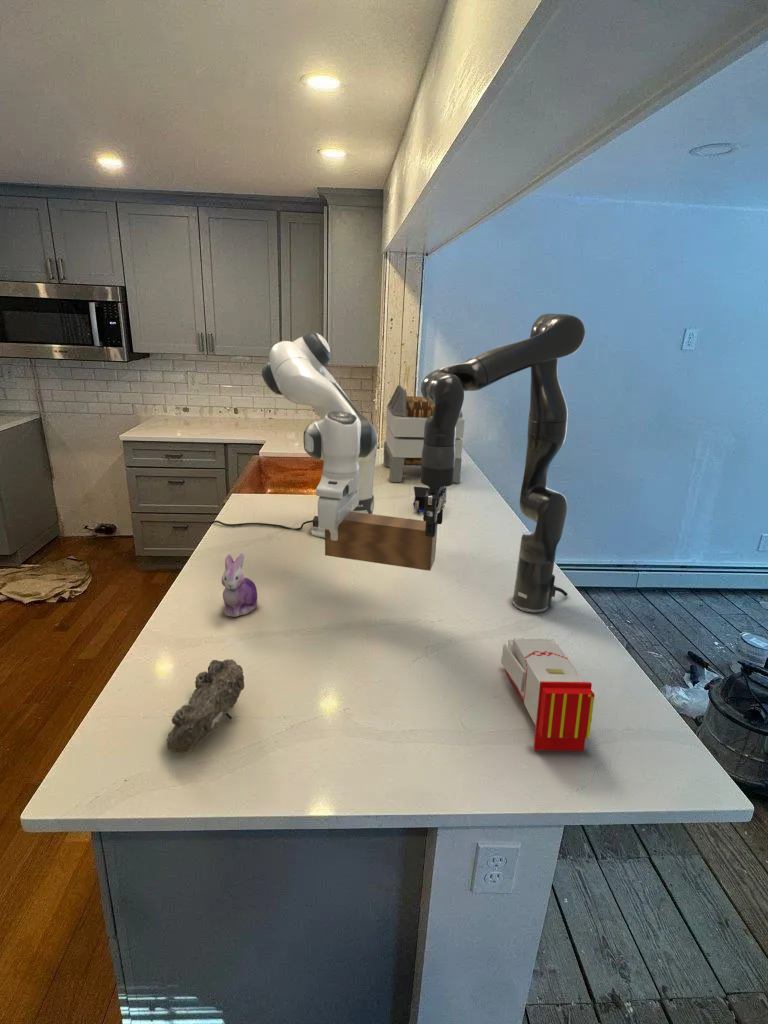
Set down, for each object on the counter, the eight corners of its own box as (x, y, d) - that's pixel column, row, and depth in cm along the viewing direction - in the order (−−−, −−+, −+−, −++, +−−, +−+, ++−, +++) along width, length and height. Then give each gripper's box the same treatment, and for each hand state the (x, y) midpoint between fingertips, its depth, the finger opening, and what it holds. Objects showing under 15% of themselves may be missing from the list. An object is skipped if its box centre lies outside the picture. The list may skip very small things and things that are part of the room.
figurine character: (431, 519, 219) (427, 502, 232) (432, 501, 216) (429, 485, 229) (413, 518, 219) (411, 501, 232) (415, 500, 215) (412, 484, 229)
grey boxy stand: (382, 463, 289) (386, 382, 275) (445, 464, 293) (451, 384, 279) (390, 482, 257) (394, 392, 243) (460, 483, 261) (468, 394, 247)
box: (324, 555, 141) (324, 517, 137) (333, 545, 146) (333, 509, 143) (430, 570, 134) (432, 531, 131) (435, 560, 140) (437, 522, 137)
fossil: (192, 660, 117) (244, 628, 112) (224, 691, 120) (276, 661, 115) (142, 746, 98) (202, 712, 93) (182, 779, 101) (242, 748, 96)
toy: (549, 621, 128) (604, 690, 99) (544, 676, 131) (595, 758, 101) (496, 620, 128) (535, 688, 98) (492, 675, 130) (528, 757, 101)
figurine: (226, 621, 140) (223, 566, 135) (217, 603, 148) (214, 550, 143) (264, 614, 144) (262, 560, 139) (253, 596, 153) (251, 545, 148)
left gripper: (342, 468, 147) (341, 518, 151) (312, 491, 128) (313, 547, 133) (366, 471, 145) (364, 521, 150) (339, 494, 126) (338, 551, 131)
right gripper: (448, 473, 121) (443, 543, 126) (459, 457, 133) (454, 521, 139) (414, 469, 123) (411, 538, 128) (428, 454, 135) (424, 517, 141)
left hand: (340, 533), depth 141 cm, fingers closed on box, 6 cm apart
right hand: (433, 529), depth 134 cm, fingers open, 8 cm apart
